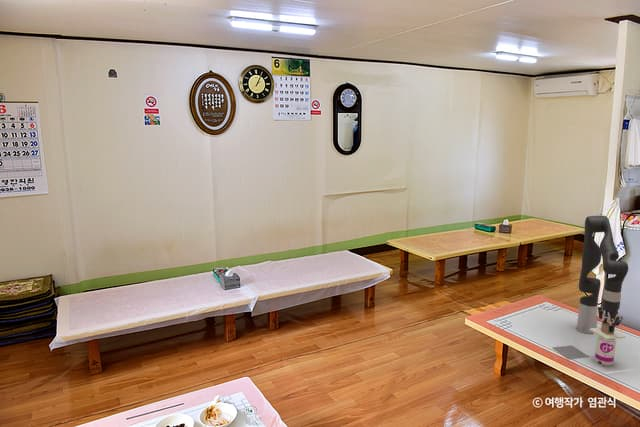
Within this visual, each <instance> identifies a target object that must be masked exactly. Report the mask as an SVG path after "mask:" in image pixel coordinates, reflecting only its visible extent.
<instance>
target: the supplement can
mask: <svg viewBox="0 0 640 427" xmlns="http://www.w3.org/2000/svg"><path fill="white" fill-rule="evenodd" d="M616 344H617V340H616V339H609V340H606V339H604V338H602V337H601V336H599V335H597V337H596V344H595V346H596V347H595V352H594V362H595V363H597V364H599V365H602V366H606V367H611V366H613V365H614V360H615V359H614V358H615V353H616Z"/></svg>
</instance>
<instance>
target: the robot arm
mask: <svg viewBox="0 0 640 427" xmlns="http://www.w3.org/2000/svg"><path fill="white" fill-rule="evenodd" d="M594 233H604V236H603V238H602V239H601V241H600V242H599V244H600V245H599V244H597V241H595V239H594V238H593V234H594ZM613 237H614V236H613V232H612V227H611V223H610V220H609V218H608V216H606V215H589V216H587V217H586V218H585V220H584V241H583V248H582V254H581V255H582V257H581V269H580V274H579V279H578V280H579V281H578V291H580V292H581V293H587V294H589V295H585V296H581V297H580V298H579V306H578V314H577V324H576V330H577V331H578V332H580V333H583V334H595V333H594V332H592V331H590V329H591V328H598V327H597V326H598V325H597V324H598V318H599V319H600V320H601V322H602V323H608V322H609V323H610V325H609V326H610V328H609V332H610V333H611V332H614V330H615V328H616V327H618V326H620V325H621V323H622V321H623V319H624V317H623V316H622V315H621V316H620V314H619V312H618V311H619V309H620V308H621V307H620V306H621V301H622V300H621V299H622V286H623V282H624V280H625V278H626V276H627V274H628V272H629V264H628V263H627V262H626V261H624V260H619V258H620V253H619V252H618V249H617V246H616V244H615V241H614V238H613ZM601 260H602V262H603V264H602V270H603V271H604V273H605V274H606V275H615V276H612V277H607V278H606V279H605V280H604V281H605V282H604V289H603V293H602V302H601V306H599V296H600V290H601V286H602V285H601V280H600V279H599V278H595V277H589V274H591V272H592V271H593V270H595V269H596V268H597V267H598V266H599V265H600V264H601ZM597 313H598V316H597ZM602 323H601V324H602Z"/></svg>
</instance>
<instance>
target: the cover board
mask: <svg viewBox="0 0 640 427" xmlns="http://www.w3.org/2000/svg"><path fill="white" fill-rule="evenodd" d="M607 322H608V323H601V326H600V327H596V328H591V329H590V331H592V332H594V333H593V334H595V335H597V336H601V337H602V338H604V339H606V340H609V339H615V340H616V339H617V340H618V339H626V335H624V334H622V333H620V332H619V331H617V330H615V329H614V332H611V333H610V332H609V328H610V326H609V325H610V321H607Z"/></svg>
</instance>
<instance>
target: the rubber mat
mask: <svg viewBox="0 0 640 427" xmlns="http://www.w3.org/2000/svg"><path fill="white" fill-rule="evenodd" d="M551 349H552V350H554V351H556V352H557V353H558V354H560V355H561V356H562V357H564V358H566V359H567V360H575V359H584V358H585V359H586V358H590V356H589V355H588V354H586V353H585V352H583V351H582V350H580V349H578V348H577V347H576V346H574V345H564V346H563V345H562V346H553V347H551Z"/></svg>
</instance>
